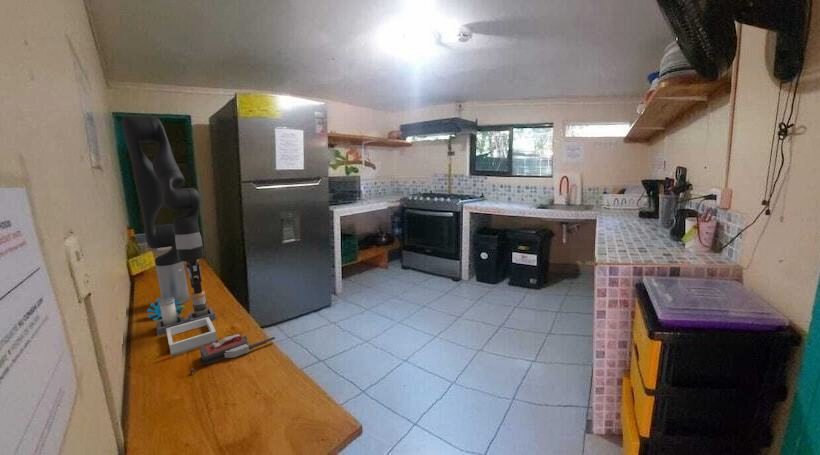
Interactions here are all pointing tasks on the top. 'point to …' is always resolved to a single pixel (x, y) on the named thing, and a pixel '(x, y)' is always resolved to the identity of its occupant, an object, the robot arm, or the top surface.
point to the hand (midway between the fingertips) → (196, 290)
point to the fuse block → (183, 321)
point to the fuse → (168, 311)
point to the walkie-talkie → (228, 348)
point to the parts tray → (193, 341)
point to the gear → (158, 310)
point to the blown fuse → (199, 304)
